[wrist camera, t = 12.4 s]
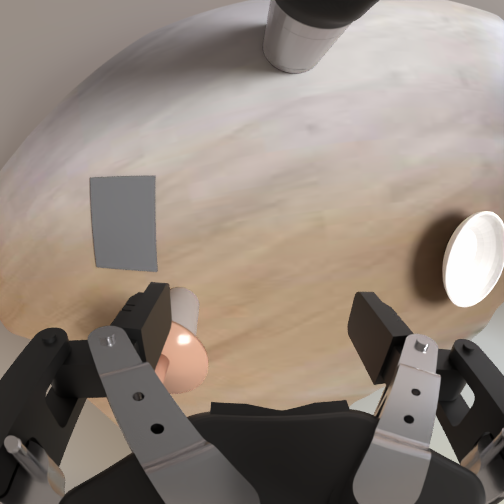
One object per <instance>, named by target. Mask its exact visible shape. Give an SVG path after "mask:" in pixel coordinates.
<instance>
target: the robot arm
mask: <svg viewBox="0 0 504 504" xmlns="http://www.w3.org/2000/svg"><path fill="white" fill-rule="evenodd" d="M378 1H379V0H271V1H270V7H269V13H268V18H267V24H266V30H265V35H264V41H263V51H264V54H265V57H266V58H267V60H268V61H269V62H270V63H271V64H272V65H273V66H274V67H276V68H278V69H279V70H282V71H285V72H289V73H302V72H306V71H309V70H310V69H312V68H313V67H314V66H315V65H316V64H317V63H318V62H319V61H320V60H321V58H322V57H323V56H324V55H325V54H326V53H327V51H328V50H329V49H330V48H331V47H332V45H333V44H334V43H335V42H336V41H337V39H338V38H339V37H340V36H341V35H342V34H343V32H344V31H345V30H346V29H347V28H348V26H349V25H350V24H351V23H352V22H353V21H355V20H357V19H359V18H360V17H361V16H362V15H364V14H365V13H366V12H367V11H368V10H369V9H370V8H371V7H372V6H373V5H374V4H375V3H377V2H378ZM171 324H172V312H171V299H170V287H169V284H168V283H156V282H151V283H150V284H149V286H148V287H147V289H146V290H145V291H144V293H141V292H138V293H137V294H135V295H134V296H132V297H130V298H129V300H128V301H127V303H126V305H124V307H123V308H122V311H120V312H119V314H118V315H117V316H116V318H115V319H114V321H113V322H112V323H111V325H110V326H103V327H100V328H97V329H95V330H94V331H92V332H91V333H90V334H89V336H88V340H74V341H69V340H68V336H67V333H66V332H65V331H64V330H63V329H60V328H47V329H44V330H42V331H40V332H39V333H37V334H36V335H35V336H34V338H33V339H32V340H31V341H30V342H29V344H28V345H27V346H26V347H25V349H24V350H23V351H22V352H21V354H20V355H19V356H18V357H17V359H16V360H15V361H14V363H13V364H12V365H11V366H10V368H9V369H8V370H7V372H6V373H5V374H4V376H3V377H2V378H1V380H0V504H498V503H499V502H501V501H502V500H503V499H504V376H503V375H502V373H501V372H500V371H499V370H498V368H497V367H496V366H495V365H494V364H493V362H492V361H491V360H490V359H489V358H488V357H487V356H486V354H485V353H484V352H483V351H482V350H481V349H480V348H479V346H477V345H476V344H475V343H473V342H472V341H469V340H466V339H458V340H456V341H455V342H454V345H453V347H452V349H451V350H445V349H438V346H437V344H436V342H435V341H434V340H432V339H431V338H429V337H427V336H425V335H421V334H413V332H412V331H411V330H410V329H409V328H408V326H407V325H406V324H405V323H404V322H403V321H401V318H400V317H399V316H398V315H397V313H396V312H395V311H394V310H393V309H392V308H391V307H390V306H388V305H386V304H385V303H383V302H382V301H381V300H380V299H379V298H378V297H377V295H376V294H375V293H374V292H357V293H356V294H355V297H354V301H353V305H352V309H351V313H350V317H349V321H348V335H349V337H350V339H351V341H352V343H353V345H354V347H355V349H356V350H357V352H358V354H359V356H360V358H361V360H362V362H363V364H364V366H365V368H366V370H367V372H368V374H369V376H370V378H371V380H372V382H373V384H374V385H376V384H383V383H385V384H386V387H385V389H384V391H383V394H382V396H381V398H380V401H379V403H378V406H377V408H376V410H375V412H374V415H371V414H369V413H366V412H362V411H358V410H352V409H349V407H348V404H347V401H346V400H342V401H332V402H319V403H312V404H309V405H305V406H301V407H297V408H293V409H288V410H282V411H281V410H274V409H269V408H264V407H259V406H254V405H249V404H236V403H218V402H211V410H210V412H204V413H199V414H195V415H192V416H189V417H186V416H185V414H184V413H183V412H182V410H181V409H180V408H179V406H178V405H177V403H176V402H175V401H174V399H173V398H172V396H171V395H170V394H169V392H168V391H167V389H166V388H165V386H164V385H163V383H162V382H161V380H160V379H159V377H158V376H157V374H156V373H155V369H156V366H157V363H158V361H159V358H160V355H161V353H162V350H163V348H164V345H165V342H166V340H167V337H168V335H169V332H170V329H171ZM466 383H467V384H468V385H469V387H470V388H471V389H472V391H473V393H474V396H475V401H474V404H473V406H472V407H471V408H469V407H468V405H467V404H466V402H465V400H464V399H463V397H462V396H461V394H460V393H461V391H462V390H463V388H464V386H465V385H466ZM50 384H51V385H52V387H51V389H50V390H49V392H48V394H47V396H46V391H47V389H48V387H49V386H50ZM45 396H46V397H45ZM98 397H107V399H108V402H109V404H110V407H111V409H112V411H113V414H114V416H115V418H116V420H117V423H118V425H119V427H120V429H121V431H122V433H123V435H124V437H125V439H126V441H127V443H128V445H129V447H130V449H131V451H132V453H131V454H129V455H128V456H126V457H125V458H123V459H122V460H120V461H119V462H117V463H115V464H114V465H112V466H110V467H109V468H107V469H106V470H104V471H102V472H101V473H99V474H97V475H95V476H94V477H92V478H91V479H89V480H87V481H85V482H83V483H82V484H80V485H78V486H76V487H74V488H73V489H72V490H70V491H68V492H67V493H66V494H65V489H64V488H65V477H64V474H63V472H62V471H61V469H60V468H59V465H60V463H61V460H62V457H63V455H64V452H65V449H66V446H67V444H68V442H69V439H70V437H71V434H72V432H73V429H74V427H75V424H76V422H77V420H78V417H79V415H80V413H81V410H82V408H83V406H84V403H85V401H86V399H87V398H98ZM435 415H436V416H437V418H438V420H439V422H440V424H441V426H442V428H443V430H444V432H445V434H446V436H447V438H448V440H449V442H450V444H451V446H452V448H453V450H454V452H455V454H456V456H457V459H458V461H459V463H460V465H459V464H458V463H456V462H454V461H452V460H450V459H448V458H446V457H444V456H442V455H441V454H439V453H437V452H435V451H433V450H432V449H430V448H429V444H430V440H431V436H432V431H433V426H434V420H435Z"/></svg>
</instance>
